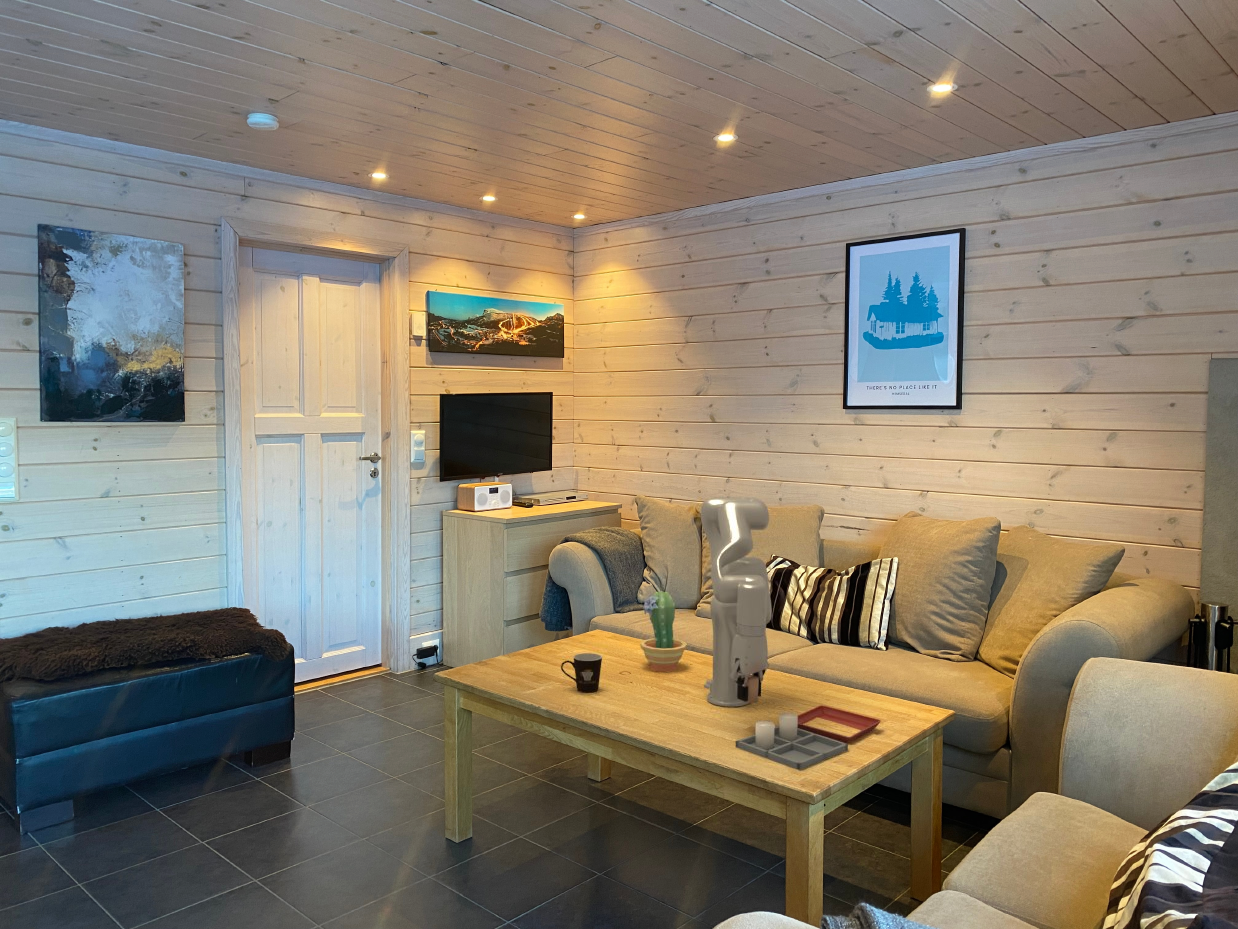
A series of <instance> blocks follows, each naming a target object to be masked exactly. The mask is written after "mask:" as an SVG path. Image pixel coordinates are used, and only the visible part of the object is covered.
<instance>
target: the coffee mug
mask: <svg viewBox="0 0 1238 929" xmlns="http://www.w3.org/2000/svg"><path fill="white" fill-rule="evenodd" d="M602 660H603V656H602V655H601V654H599V653H592V652H590V653H588V652H586V653H585V652H584V653H577V654H574V655H573V661H571V660H565V661H563V662H562V663H561V665H560V669H561V672H563V673H564V675H565V676H567V677H568V678H569V679H571V680H573V681H574V682H575V684H576V690H577V692H579V693H581V694H582V693H583V694H592V693H597V692H598V691H599V688H600V687H599V685H600V678H601V668H602ZM565 664H570V665H571V666H572V667H573V669H574V676H575V677H574V676H572V675H570V674H569V673H567V672H566V671H565V670H564V668H563V667H564V665H565Z"/></svg>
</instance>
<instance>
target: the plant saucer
mask: <svg viewBox="0 0 1238 929" xmlns="http://www.w3.org/2000/svg"><path fill="white" fill-rule="evenodd" d="M797 716H798V726H797V728H799V729H802V730H805V731H808V732H811V733H815V734H818V735H821V736H824V737H827V738H830V739H833V740H837V741H840V742H843V743H846V744H848V743H851V742H852V741H854V740H856V739H858V738H859V737H862V736H863V735H865V734H867V733H868V732H869V733H871V732H873V731H874V730H875V729H876V728H877V727H878V726H879V724H880V723H881V722H882V720H881V719H878V718H874V717H870V716H867V715H864V714H858V713H855V712H850V711H846V710H842V709H840V708H835V707H831V706H827V705H818V706H816V707H814V708H812V709H809V710H807V711H805V712H802V713H801V714H798V715H797ZM817 718H820V719H821V720H822V719H823V720H824V721H825V720H826V721H829V722H832V723H835V724H839V725H842V726H846V727H847V728H848V727H849V728H852V729H856V730H859V731H857V732H856V733H854V734H852V735H850V736H847V735H844V734H840V733H836V732H832V731H828V730H825V729H822V728H818V727H814V726H811V725H807V723H809V722H811V721H813V720H815V719H817ZM870 731H871V732H870Z"/></svg>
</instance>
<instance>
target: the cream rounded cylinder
mask: <svg viewBox="0 0 1238 929" xmlns="http://www.w3.org/2000/svg"><path fill="white" fill-rule="evenodd" d="M778 716H779V717H778V726H779V738H781V739H784V740H787V741H790V742H792V741H795V740H797V726H798V715H797V714H795V713H792V712H782V713H779V715H778Z"/></svg>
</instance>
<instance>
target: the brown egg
mask: <svg viewBox="0 0 1238 929" xmlns="http://www.w3.org/2000/svg"><path fill="white" fill-rule="evenodd" d="M741 678H742V680H743V678H744V676H741ZM758 684H759V677H758V676H755V675H752V674H750V675H748V681H747V686H748V701H746V703H749V704H751V703H752V704H753V703H754V704H755V703H758V701H759V697H758ZM741 701H742V700H741ZM743 702H745V701H743Z"/></svg>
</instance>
